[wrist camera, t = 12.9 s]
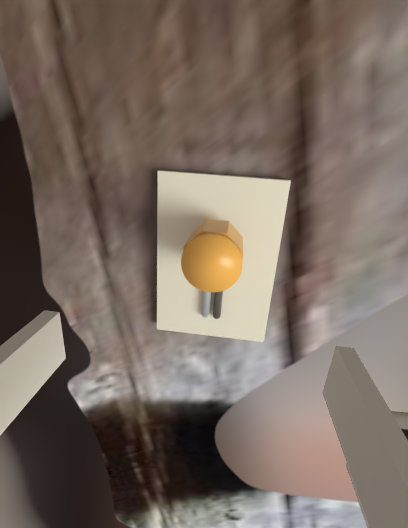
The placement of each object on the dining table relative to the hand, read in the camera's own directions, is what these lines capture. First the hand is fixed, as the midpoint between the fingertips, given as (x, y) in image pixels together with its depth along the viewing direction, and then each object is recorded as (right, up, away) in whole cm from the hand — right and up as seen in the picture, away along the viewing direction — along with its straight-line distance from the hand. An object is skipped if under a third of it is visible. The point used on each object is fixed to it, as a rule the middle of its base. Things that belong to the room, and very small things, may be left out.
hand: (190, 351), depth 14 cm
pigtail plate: (+2, +5, +21) cm, 22 cm away
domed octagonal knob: (+2, +6, +17) cm, 18 cm away
